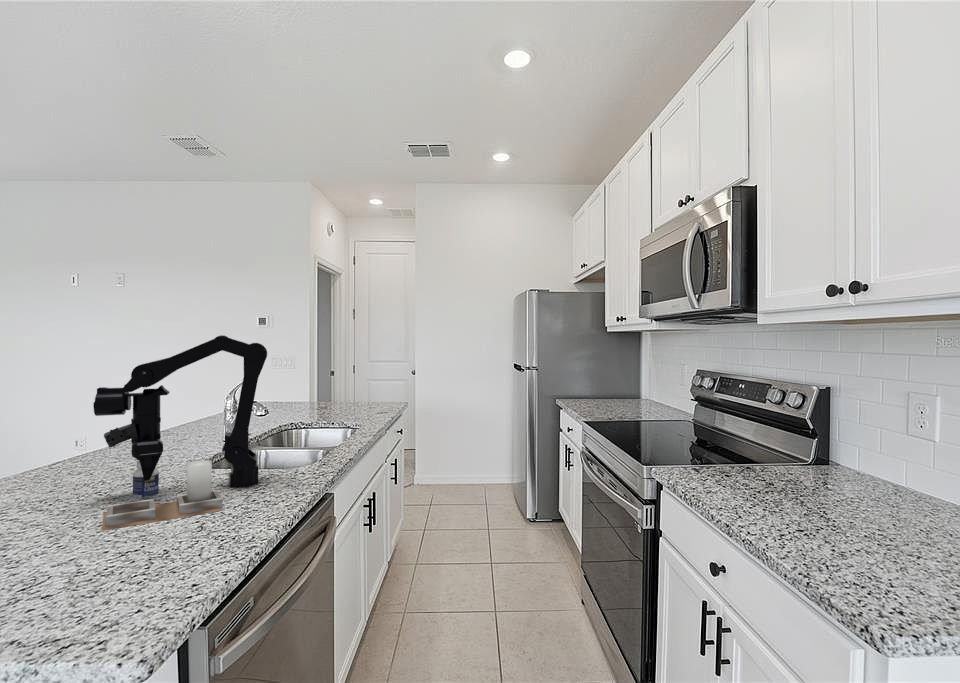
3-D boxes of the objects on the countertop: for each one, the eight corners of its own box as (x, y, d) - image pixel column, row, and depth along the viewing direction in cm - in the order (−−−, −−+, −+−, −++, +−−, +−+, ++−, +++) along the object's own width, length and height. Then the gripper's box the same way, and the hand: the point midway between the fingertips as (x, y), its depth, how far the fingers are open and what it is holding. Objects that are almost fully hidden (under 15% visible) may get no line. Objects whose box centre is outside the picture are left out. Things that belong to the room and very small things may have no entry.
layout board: (215, 501, 124) (215, 487, 124) (223, 516, 114) (223, 501, 114) (103, 518, 112) (103, 503, 112) (100, 538, 101) (101, 521, 101)
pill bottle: (145, 504, 122) (145, 464, 122) (127, 502, 123) (127, 463, 123) (163, 497, 127) (164, 459, 127) (145, 496, 128) (146, 457, 128)
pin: (209, 500, 120) (210, 459, 120) (212, 506, 116) (213, 463, 116) (185, 504, 117) (186, 462, 117) (187, 510, 113) (188, 466, 113)
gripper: (107, 411, 128) (107, 472, 128) (104, 421, 112) (104, 491, 113) (159, 408, 134) (159, 466, 134) (163, 417, 119) (163, 483, 119)
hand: (146, 476), depth 125 cm, fingers open, 9 cm apart
